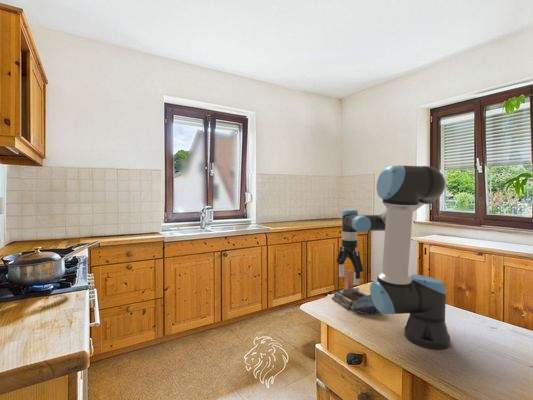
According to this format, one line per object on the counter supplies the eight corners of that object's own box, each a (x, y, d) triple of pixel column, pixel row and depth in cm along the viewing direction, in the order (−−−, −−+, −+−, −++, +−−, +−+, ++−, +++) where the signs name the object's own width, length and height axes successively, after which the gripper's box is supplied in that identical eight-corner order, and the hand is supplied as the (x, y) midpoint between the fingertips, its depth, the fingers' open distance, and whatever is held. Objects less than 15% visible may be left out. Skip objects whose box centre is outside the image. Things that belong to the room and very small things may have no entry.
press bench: (376, 306, 137) (376, 297, 137) (347, 310, 132) (347, 301, 132) (358, 296, 151) (358, 288, 151) (331, 299, 146) (332, 291, 146)
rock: (391, 317, 125) (385, 304, 135) (386, 301, 124) (380, 289, 133) (357, 326, 128) (353, 312, 138) (351, 310, 127) (348, 298, 136)
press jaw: (358, 297, 145) (358, 270, 145) (343, 299, 142) (343, 272, 142) (354, 295, 149) (354, 268, 149) (338, 296, 146) (339, 269, 146)
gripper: (371, 243, 134) (370, 287, 135) (342, 235, 158) (341, 272, 159) (357, 244, 132) (356, 289, 133) (330, 235, 156) (330, 274, 157)
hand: (348, 280), depth 146 cm, fingers open, 13 cm apart
